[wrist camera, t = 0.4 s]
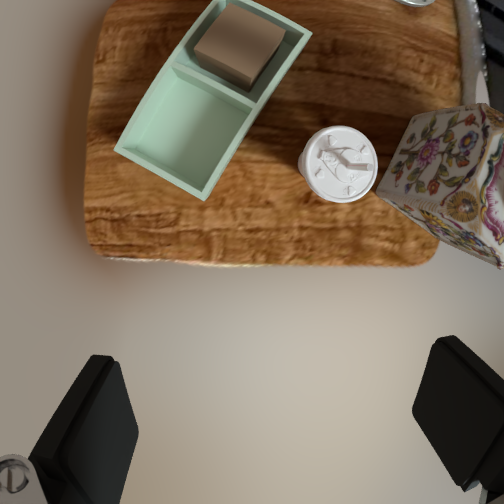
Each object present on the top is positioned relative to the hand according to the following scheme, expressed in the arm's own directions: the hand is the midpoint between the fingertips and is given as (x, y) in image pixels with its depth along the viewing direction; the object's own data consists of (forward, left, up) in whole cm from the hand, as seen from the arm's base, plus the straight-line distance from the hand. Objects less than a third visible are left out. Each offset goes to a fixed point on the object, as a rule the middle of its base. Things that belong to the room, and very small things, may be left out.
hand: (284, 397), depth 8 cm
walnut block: (-15, -10, -27) cm, 32 cm away
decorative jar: (-16, +16, -28) cm, 36 cm away
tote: (-10, -10, -27) cm, 31 cm away
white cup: (-9, +3, -28) cm, 29 cm away
